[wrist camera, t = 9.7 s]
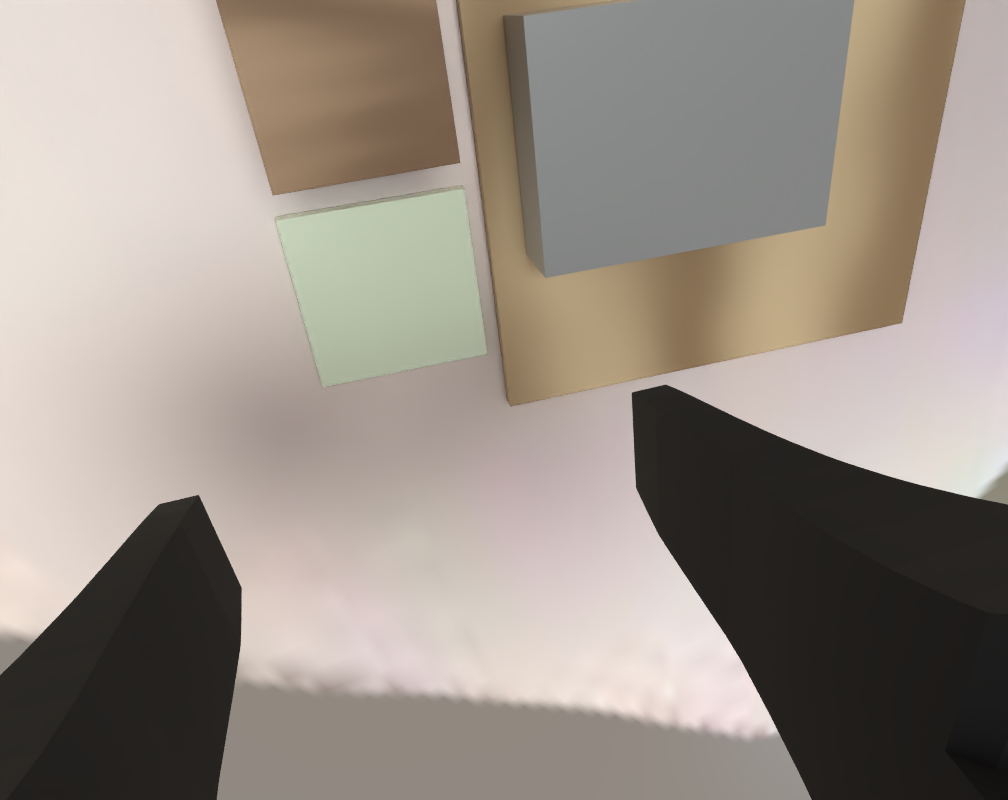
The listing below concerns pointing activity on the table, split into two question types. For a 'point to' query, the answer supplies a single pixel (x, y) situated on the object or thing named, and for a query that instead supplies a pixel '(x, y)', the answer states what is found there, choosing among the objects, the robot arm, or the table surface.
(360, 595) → the table surface
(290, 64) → the block
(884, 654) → the robot arm
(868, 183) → the mat
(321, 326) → the block
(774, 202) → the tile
